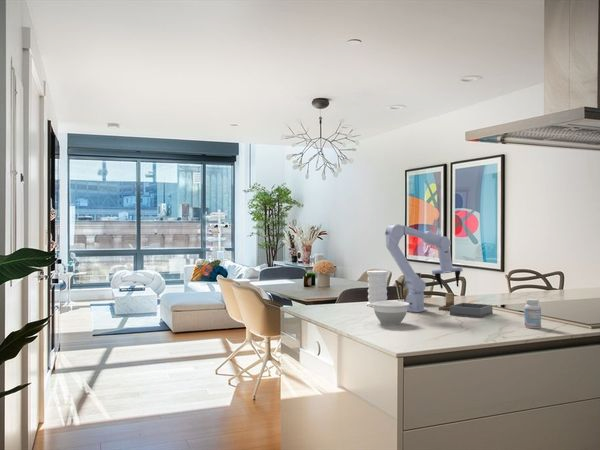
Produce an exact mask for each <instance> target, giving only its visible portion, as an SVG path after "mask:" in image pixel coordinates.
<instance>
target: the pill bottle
mask: <svg viewBox="0 0 600 450" xmlns="http://www.w3.org/2000/svg"><path fill="white" fill-rule="evenodd" d="M525 303H526V304H525V305H524V308H523V309H524V313H523V314H524V316H523V317H524V327H525V328H527V329H533V330H534V329H541V328H542V309H541V308H542V307H541V306H540V305H539V303H540V301H539V299H538V298H526V299H525Z"/></svg>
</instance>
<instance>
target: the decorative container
mask: <svg viewBox="0 0 600 450" xmlns="http://www.w3.org/2000/svg"><path fill="white" fill-rule="evenodd" d="M388 273H389V271H388V270H367V271H366V275H367V287H368V289H367V293H368V295H367V299H368V302H366V306H367V305H368V306H367V307H369V306H373V305H372V303H373V302H379V301H388V295H387V293H388V289H387V287H388V284H387V281H388V277H387V275H389V274H388Z"/></svg>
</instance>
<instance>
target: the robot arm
mask: <svg viewBox="0 0 600 450" xmlns="http://www.w3.org/2000/svg"><path fill="white" fill-rule="evenodd" d="M384 235H385V245H386V248H387V250H388V252H389V253H390V256H392V259H393V260H394V261H395V263H396V265H397V266H398V268H399V270H400V271H401V273H402V275H403V274H404V275H403V277H404V276H405V280H406V282H407V287H408V289H409V294H408V295H407V296H406V302H407V303H409V305H408V306H407V312H412V313H421V312H425V311H427V310H428V308H425V296H424V295H425V293H424V291H425V289H426V287H427V284H426V282H425V281H424V280H423V279H422V278H421V279H420V278H419V276H418V275H417V274H416V273H417V272H415V270H414V268H413V267H412V265H411V264H410V263H409V261H408V259H407V258H406V256H405V254H404V253H403V252H402V250H401V248H400V246H399V243H400V241H401V239H402V238H403V236H406V235H408V236H410V237H411V236H412V237H415V238H418V239H421V240H422V242H423V243H425V244H428V245H432V246H435V247H436V248H437V253H438V259H439V267H440V269H434V270H432V271H431V273H432V274H431V275H432V276H434V278H435V279H436V280H437V282H438V284H439V287H440V289H443V288H444V287H443V282H442V278H441V277H442V276H441V275H443V274H449V273H454V275H455V280H456V281H455V282H456V287H457V288H459V283H460V281H459V280H460V275H461V272H463V266H460V267H459V266H458V267H457V266H456V267H453V263H452V255H451V249H450V246H451V244H452V243H451V242H452V241H451V240H450V238H449V237H448V236H445V235H444V236H442V234H441V233H434V232H433V231H432V230H426V231H421V230H419V229H415V228H414V227H410V226H407V225H401V224H389V225H388V226H387V227H386V230H385V233H384Z"/></svg>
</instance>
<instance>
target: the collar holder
mask: <svg viewBox="0 0 600 450" xmlns="http://www.w3.org/2000/svg"><path fill="white" fill-rule="evenodd" d="M438 310H439V311H446V312H447V311H448V312H450V307H446V304H445V305H441V306H438Z"/></svg>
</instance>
